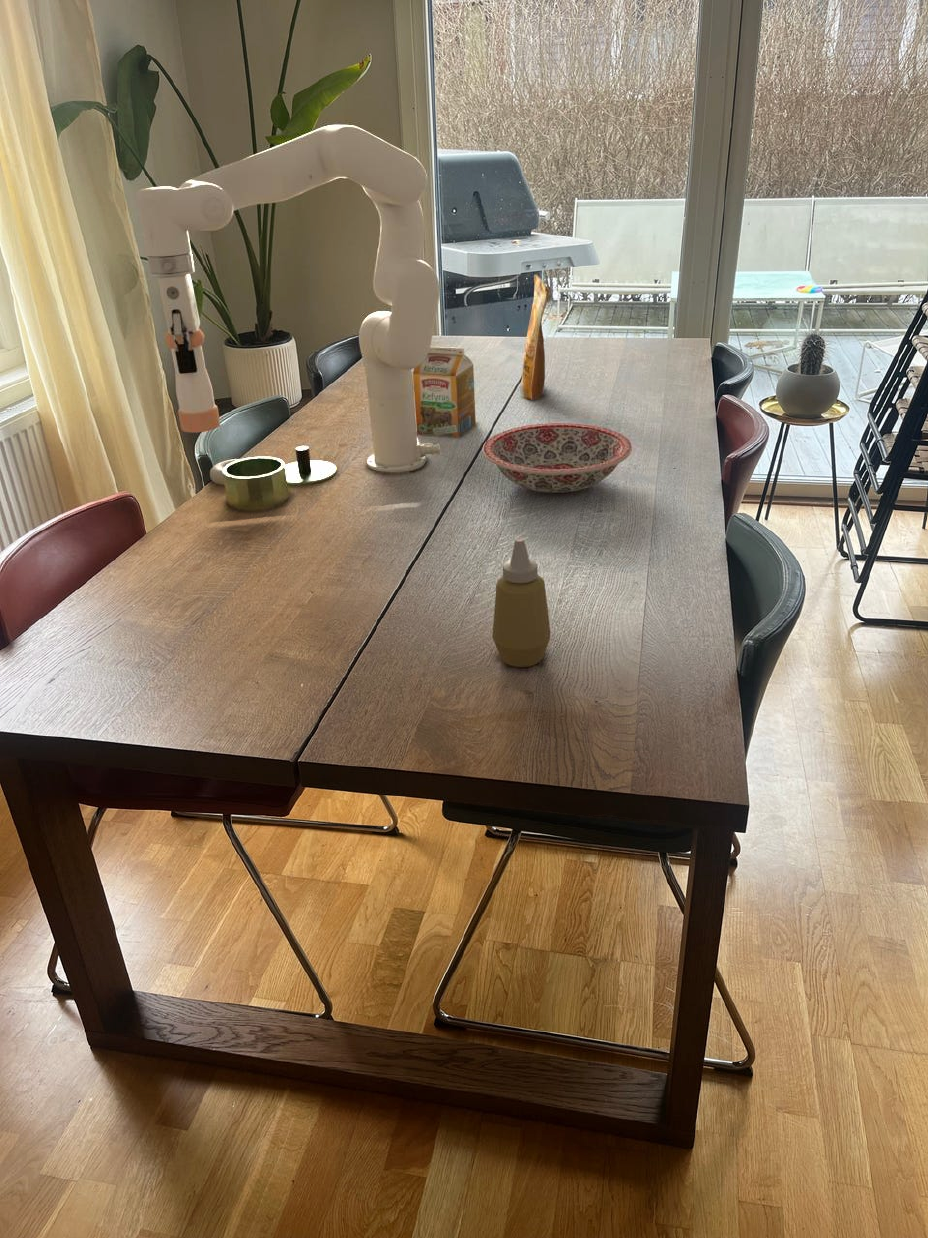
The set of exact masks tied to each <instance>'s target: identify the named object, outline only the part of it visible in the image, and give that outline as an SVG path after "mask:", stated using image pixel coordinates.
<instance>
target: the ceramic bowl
mask: <svg viewBox="0 0 928 1238" xmlns="http://www.w3.org/2000/svg"><path fill="white" fill-rule="evenodd" d="M632 451H633V444H632V442H631V440H630V439H629V438H628V437H626V436H625V435H623V434H621V433H620V432H618V431H615V430H612V429H610V428H605V427H601V426H596V425H590V424H584V423H572V422H571V423H569V422H553V423H552V422H551V423H538V424H537V423H536V424H530V425H522V426H518V427H514V428H511V429H507V430H504V431H501V432H499V433H497V434H495V435H493V436H491V437H490V438H488V439H487V440H486V441H485V442H484V444H483V446H482V454H483V457H484V458H485V459H486V460H487V461H488V462H490V463H491V464H494V465H495V466H496V468H497V469H498V470H499V472H500V473H501V474H502V475H503V476H504V477H506V479H508V480H509V481H510V482H512V483H514V484H515V485H518V486H520V487H521V488H525V489H527V490H531V491H534V492H535V491H536V492H541V493H557V494H560V493H571V492H578V491H581V490H584V489H588V488H591V487H593V486H595V485H597V484H599V483H600V482H602V481H603V480H605V479H606V478H607V477H609V476H610V475H611V474H612V473H613V471H614V470H615V469H616V468H617V466H618V465H619V464H620V463H622V462H624V461H625V460H627V459H628V458H629V457H630V456H631V454H632Z"/></svg>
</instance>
